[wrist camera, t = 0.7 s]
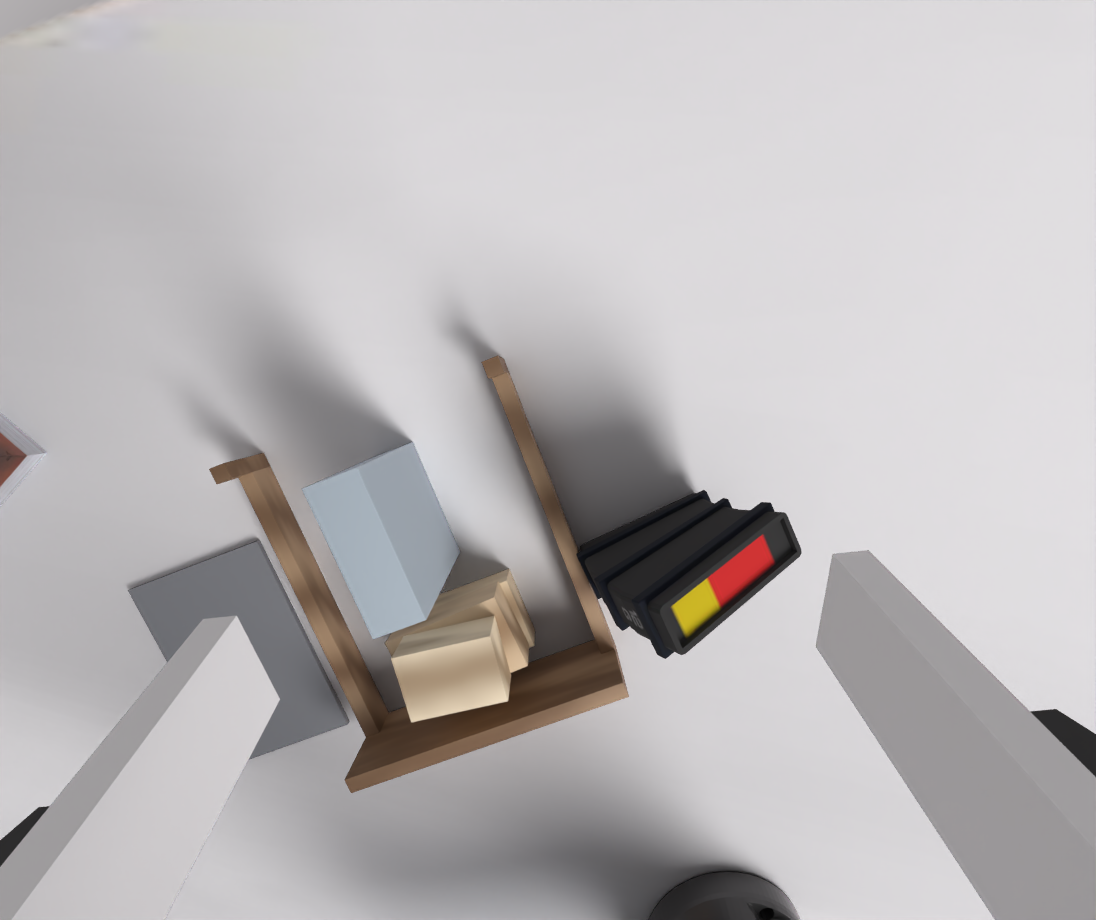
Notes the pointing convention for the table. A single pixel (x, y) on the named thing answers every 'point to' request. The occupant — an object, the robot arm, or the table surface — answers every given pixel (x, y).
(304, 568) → the rack
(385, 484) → the pale blue chunky brick
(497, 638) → the offcut top
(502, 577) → the block
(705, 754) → the table surface
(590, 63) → the table surface
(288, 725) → the mat
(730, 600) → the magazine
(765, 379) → the table surface
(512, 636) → the block
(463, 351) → the table surface
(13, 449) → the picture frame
